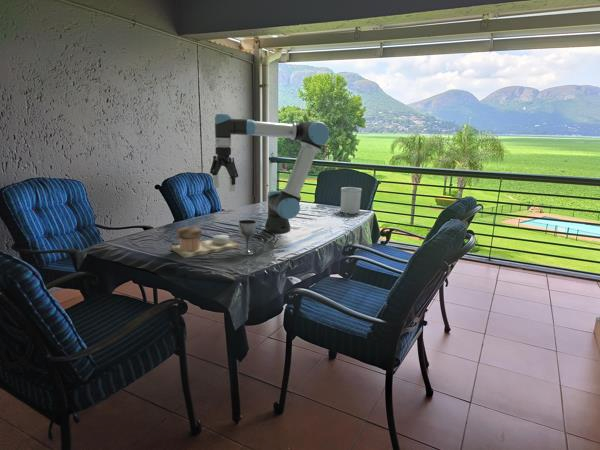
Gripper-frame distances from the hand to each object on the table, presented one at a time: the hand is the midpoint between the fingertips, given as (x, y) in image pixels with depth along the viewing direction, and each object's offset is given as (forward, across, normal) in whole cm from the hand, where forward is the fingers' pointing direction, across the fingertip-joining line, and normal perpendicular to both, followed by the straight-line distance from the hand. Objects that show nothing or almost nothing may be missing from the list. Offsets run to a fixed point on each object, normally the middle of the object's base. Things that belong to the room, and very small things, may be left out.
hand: (223, 189), depth 192 cm
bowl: (+25, +4, -23) cm, 34 cm away
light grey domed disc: (+25, +6, -7) cm, 27 cm away
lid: (+19, +4, -23) cm, 30 cm away
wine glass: (+27, +23, -4) cm, 36 cm away
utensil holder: (+27, 0, +112) cm, 115 cm away
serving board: (+27, +5, -15) cm, 31 cm away
